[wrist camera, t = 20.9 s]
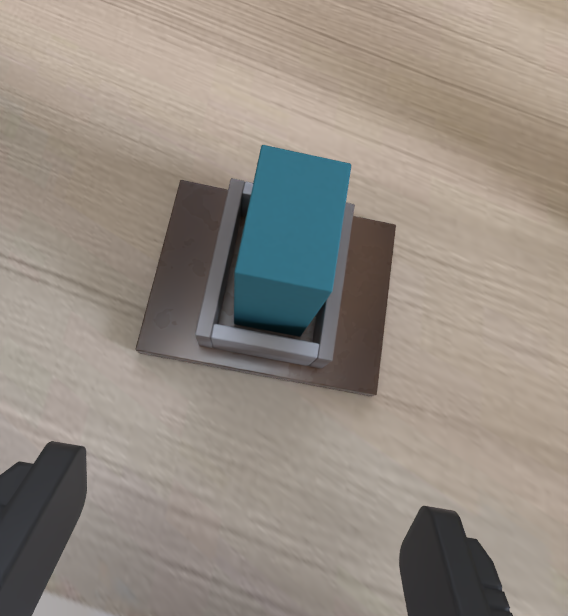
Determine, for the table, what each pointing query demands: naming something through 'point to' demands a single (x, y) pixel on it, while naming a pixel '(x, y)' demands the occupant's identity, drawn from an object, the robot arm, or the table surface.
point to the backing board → (256, 342)
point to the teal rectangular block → (289, 240)
